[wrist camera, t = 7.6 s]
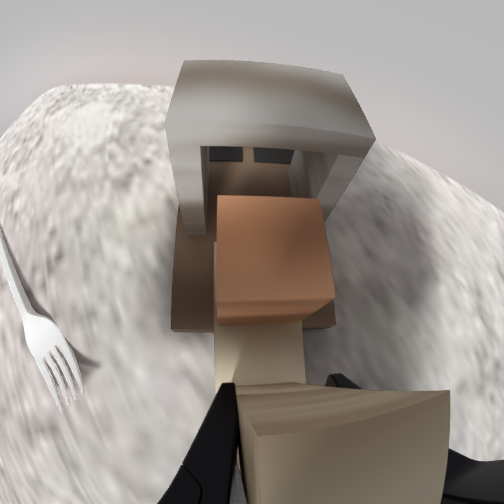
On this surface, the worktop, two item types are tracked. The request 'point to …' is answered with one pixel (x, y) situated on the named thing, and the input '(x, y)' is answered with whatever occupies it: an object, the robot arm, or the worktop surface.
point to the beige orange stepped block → (294, 379)
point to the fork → (42, 336)
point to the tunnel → (253, 159)
